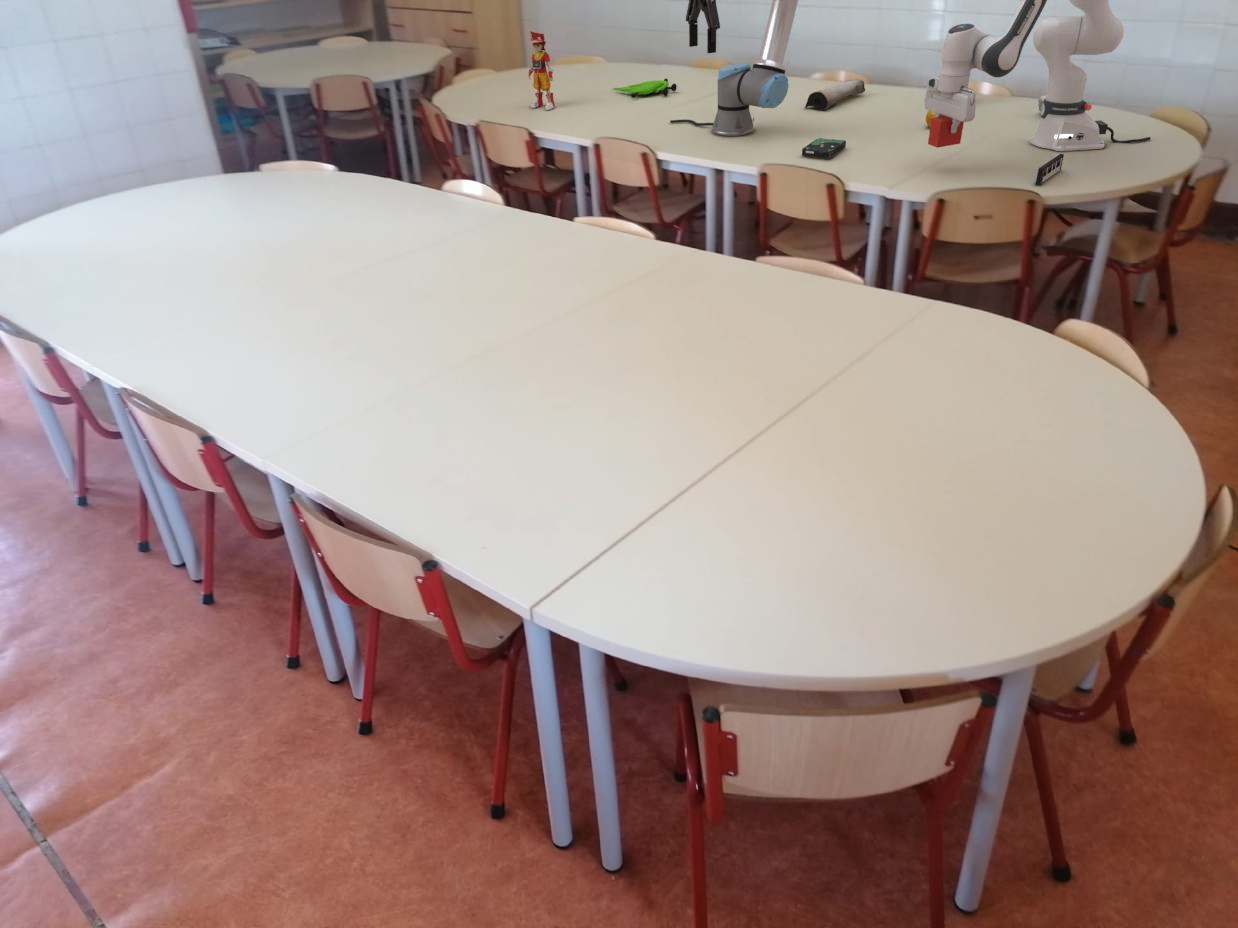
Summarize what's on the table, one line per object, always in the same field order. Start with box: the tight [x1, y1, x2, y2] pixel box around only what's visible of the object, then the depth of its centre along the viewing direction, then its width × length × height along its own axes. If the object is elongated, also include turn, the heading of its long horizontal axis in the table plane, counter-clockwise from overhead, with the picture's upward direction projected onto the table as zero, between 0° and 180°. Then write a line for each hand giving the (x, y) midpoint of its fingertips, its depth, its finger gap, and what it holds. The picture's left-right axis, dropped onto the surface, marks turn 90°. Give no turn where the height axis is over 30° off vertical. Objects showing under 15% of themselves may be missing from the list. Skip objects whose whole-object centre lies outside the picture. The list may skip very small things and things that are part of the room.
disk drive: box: [801, 137, 847, 160], centre depth 307 cm, size 10×3×15 cm
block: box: [927, 116, 965, 149], centre depth 281 cm, size 5×9×8 cm, turn 111°
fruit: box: [925, 110, 936, 127], centre depth 325 cm, size 8×8×8 cm
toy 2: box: [612, 78, 677, 99], centre depth 396 cm, size 28×5×30 cm
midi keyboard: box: [1035, 153, 1065, 186], centre depth 273 cm, size 18×1×5 cm, turn 138°
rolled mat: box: [804, 78, 866, 111], centre depth 363 cm, size 30×9×10 cm
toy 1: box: [527, 31, 556, 111], centre depth 374 cm, size 12×9×30 cm
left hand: (702, 49), depth 290 cm, fingers open, 13 cm apart
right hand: (946, 130), depth 281 cm, fingers closed on block, 5 cm apart
